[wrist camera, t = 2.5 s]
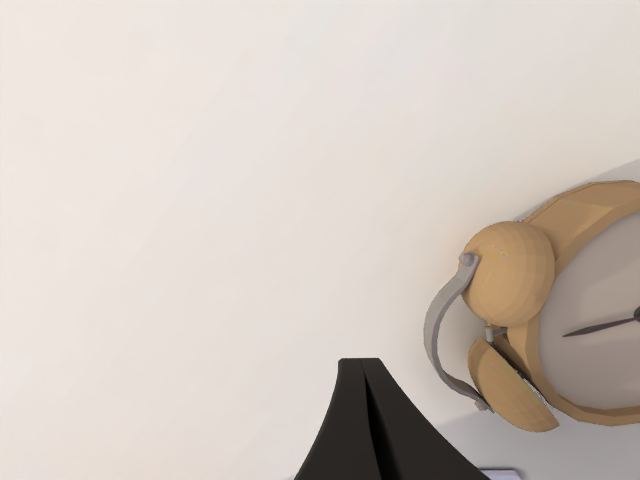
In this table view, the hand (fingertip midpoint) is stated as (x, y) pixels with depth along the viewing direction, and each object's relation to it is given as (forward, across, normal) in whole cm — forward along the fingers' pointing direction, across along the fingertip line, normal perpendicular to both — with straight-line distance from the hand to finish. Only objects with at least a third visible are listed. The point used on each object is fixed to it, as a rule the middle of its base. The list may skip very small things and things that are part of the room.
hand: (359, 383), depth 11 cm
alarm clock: (+7, -11, 0) cm, 13 cm away
